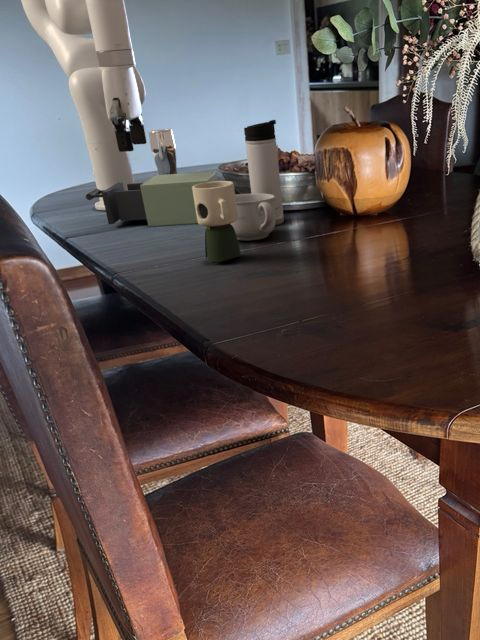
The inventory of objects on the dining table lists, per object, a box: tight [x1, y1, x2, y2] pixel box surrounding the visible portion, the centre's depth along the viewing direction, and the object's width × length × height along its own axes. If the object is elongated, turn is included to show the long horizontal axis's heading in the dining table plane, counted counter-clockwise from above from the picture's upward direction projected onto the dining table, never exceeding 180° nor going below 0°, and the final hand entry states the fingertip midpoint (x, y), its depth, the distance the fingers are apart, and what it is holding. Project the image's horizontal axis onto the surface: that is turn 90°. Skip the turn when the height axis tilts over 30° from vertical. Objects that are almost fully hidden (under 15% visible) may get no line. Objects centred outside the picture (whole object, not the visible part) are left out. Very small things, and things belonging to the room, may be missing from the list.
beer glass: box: [148, 128, 178, 175], centre depth 186 cm, size 7×7×15 cm
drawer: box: [85, 182, 147, 225], centre depth 149 cm, size 18×12×7 cm, turn 87°
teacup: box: [231, 193, 276, 241], centre depth 126 cm, size 14×11×8 cm
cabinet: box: [140, 170, 220, 227], centre depth 148 cm, size 15×13×9 cm
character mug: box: [192, 180, 242, 263], centre depth 113 cm, size 11×7×13 cm, turn 24°
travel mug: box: [243, 119, 285, 226], centre depth 134 cm, size 6×7×20 cm
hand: (133, 147), depth 145 cm, fingers open, 9 cm apart
